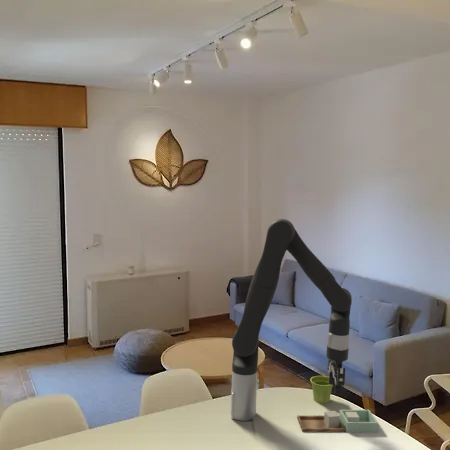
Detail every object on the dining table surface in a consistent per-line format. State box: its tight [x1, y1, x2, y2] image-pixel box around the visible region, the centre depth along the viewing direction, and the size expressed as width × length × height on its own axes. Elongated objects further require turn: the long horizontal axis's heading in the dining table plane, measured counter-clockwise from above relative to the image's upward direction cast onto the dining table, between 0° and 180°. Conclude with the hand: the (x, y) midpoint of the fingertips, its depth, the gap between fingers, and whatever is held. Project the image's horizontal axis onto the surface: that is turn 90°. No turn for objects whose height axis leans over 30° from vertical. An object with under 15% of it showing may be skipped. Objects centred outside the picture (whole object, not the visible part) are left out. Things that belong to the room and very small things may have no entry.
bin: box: [338, 409, 379, 433], centre depth 183 cm, size 11×10×4 cm
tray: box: [296, 415, 346, 433], centre depth 183 cm, size 15×10×2 cm, turn 92°
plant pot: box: [310, 375, 334, 404], centre depth 203 cm, size 9×9×9 cm
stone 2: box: [345, 412, 359, 422], centre depth 183 cm, size 4×4×4 cm
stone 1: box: [323, 410, 339, 428], centre depth 183 cm, size 4×4×4 cm
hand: (334, 389), depth 182 cm, fingers open, 8 cm apart
